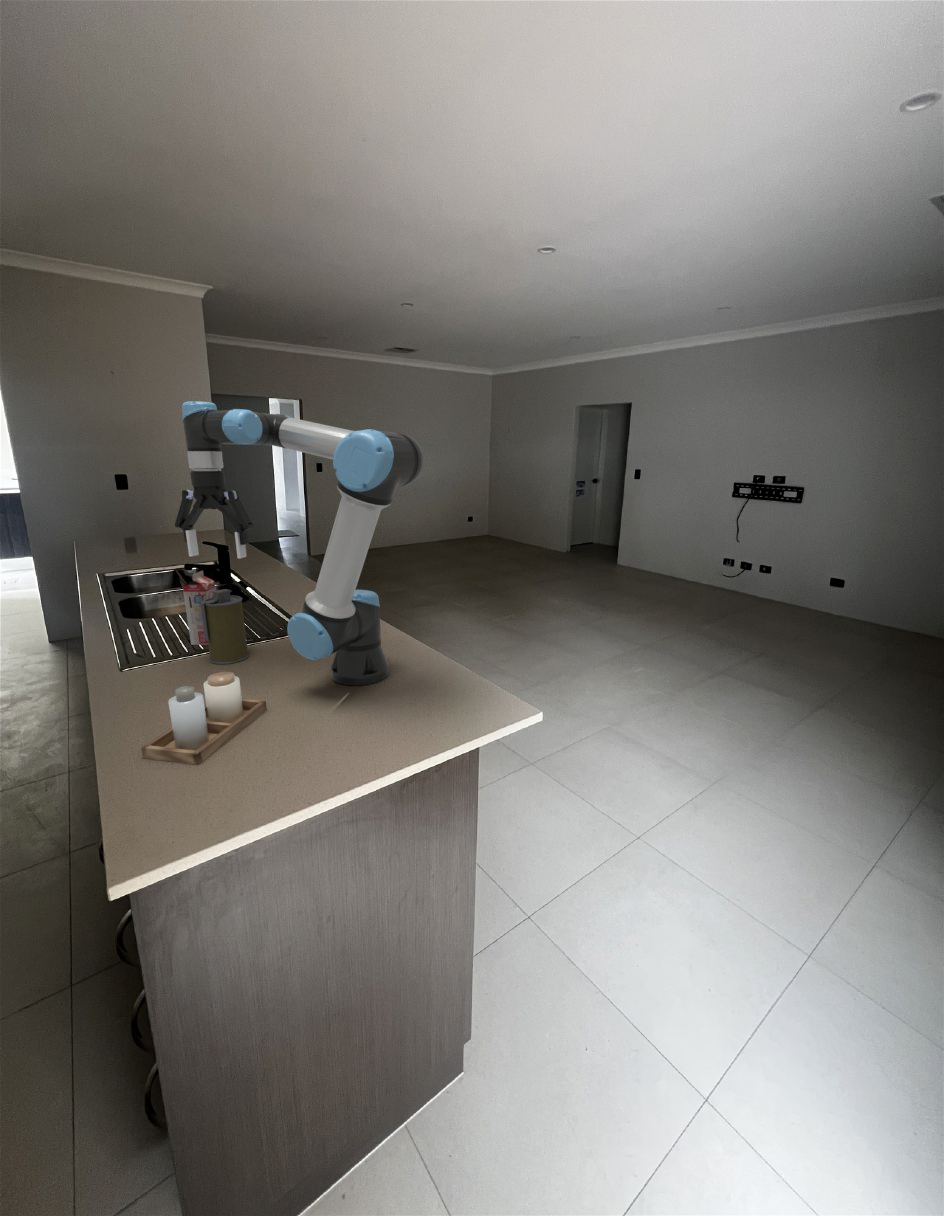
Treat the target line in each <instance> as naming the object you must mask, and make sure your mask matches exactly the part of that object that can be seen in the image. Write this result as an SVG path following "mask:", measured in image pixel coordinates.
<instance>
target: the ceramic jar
mask: <svg viewBox="0 0 944 1216" xmlns="http://www.w3.org/2000/svg"><path fill="white" fill-rule="evenodd" d="M240 682H241V681H240V678H239V677H238V676H236V675H235V673H234V672H232V671H220V672H219V671H218V672H215V673H212V674H210V675H209V676H207V680H205V681H204V682H203V692H204V699H205V705H206V706H207V713H208V720H209V721H214V722H223V723H233V722H235V721H236V720H237V719H238V718H240V717H241V716H242V715H244V713H243V705H242V699H243V697H242V691H241V690H242V688H241V683H240Z"/></svg>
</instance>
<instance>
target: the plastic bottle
mask: <svg viewBox="0 0 944 1216" xmlns="http://www.w3.org/2000/svg"><path fill="white" fill-rule="evenodd" d="M174 692H175V695H174V696H172V697H170V698H169V700H168V701H167V703H168V709H169V716H170V721H171V727H172V729H173V735H174V742H175V748H176V749H185V750H194V751H196V750H198V749H199V748H200V747H202V746H203V745H204V744H206V743H207V742H208V741H209V736H208V729H207V721H206V714H205V707H204V706H205V701H204V699H205V698H204V695H203V693H201V692H196V691H195V687H194V686H192V685H184V686H183V685H182V686H179V687H178V688H175V689H174Z"/></svg>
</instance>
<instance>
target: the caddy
mask: <svg viewBox="0 0 944 1216" xmlns="http://www.w3.org/2000/svg"><path fill="white" fill-rule="evenodd" d="M242 705H243V713H244V715H242V716H241V717H240V718H238V719H237V720H236V721H235V722H233V723H223V722H214V721H209V720H208V713H207V706H206V704H204V707H205V714H206V721H207V729H208V736H209V741H208V742H207V743H206V744H204V745H203V746H202V747H200V748H199V749H198V750H196V751H194V750H185V749H176V748H175V742H174V735H173V729H172V726H171V727H170V728H168V729H167V730H165V731H164V732H162V733H161V734H159V735H158V736H156V737H154V738H153V739H151V740H150V741H149V742H147V743H146V744H144V745H143V746H141V747H140V749H141V755H142V759H149V760H155V761H164V762H172V763H180V764H181V763H182V764H189V765H195V766H196V765H197V766H198V765H201V764H202V763H203V762H204V761H205V760H207V759H208V758H210V757H211V756H213V754H214V753H216V752H217V751H218V750H219V749H220V748H223V746H224V745H226V743H229V741H230V740H232V739H233V738H234V737H235V736H236V735H238V734H240V733H241V731H243V730H244V729H245V728H247V727H248V726H249V725H251V723H253V722H254V721H255V720H257V719H258V718H259V717H260V716H262V715H263V714H265V713H266V711H267V710H268V709H267V701H266V700H261V699H260V700H259V699H258V700H257V699H247V698H242Z"/></svg>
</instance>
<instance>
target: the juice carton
mask: <svg viewBox="0 0 944 1216" xmlns="http://www.w3.org/2000/svg"><path fill="white" fill-rule="evenodd" d="M182 591H183V597H184V605H185V611H186V613H185V614H186V619H187V625H188V632H189V640H190V645H191V646H192V645H193V646H197V645H199V646H202V645H204V646H205V645H207V646H208V641H206V640H205V635H204V627H203V620H202V613H201V605H200V603H201V602H202V601H203V600H205V599H208V598H211V597H212V596H213V591H216V581H215V580H213V579H212V578H209V577H208V576H205V575H204V570H201V571H198V572H196V573H194V574H192V580H191V581H189V582H187V583H185V584H184V585H182Z"/></svg>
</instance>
